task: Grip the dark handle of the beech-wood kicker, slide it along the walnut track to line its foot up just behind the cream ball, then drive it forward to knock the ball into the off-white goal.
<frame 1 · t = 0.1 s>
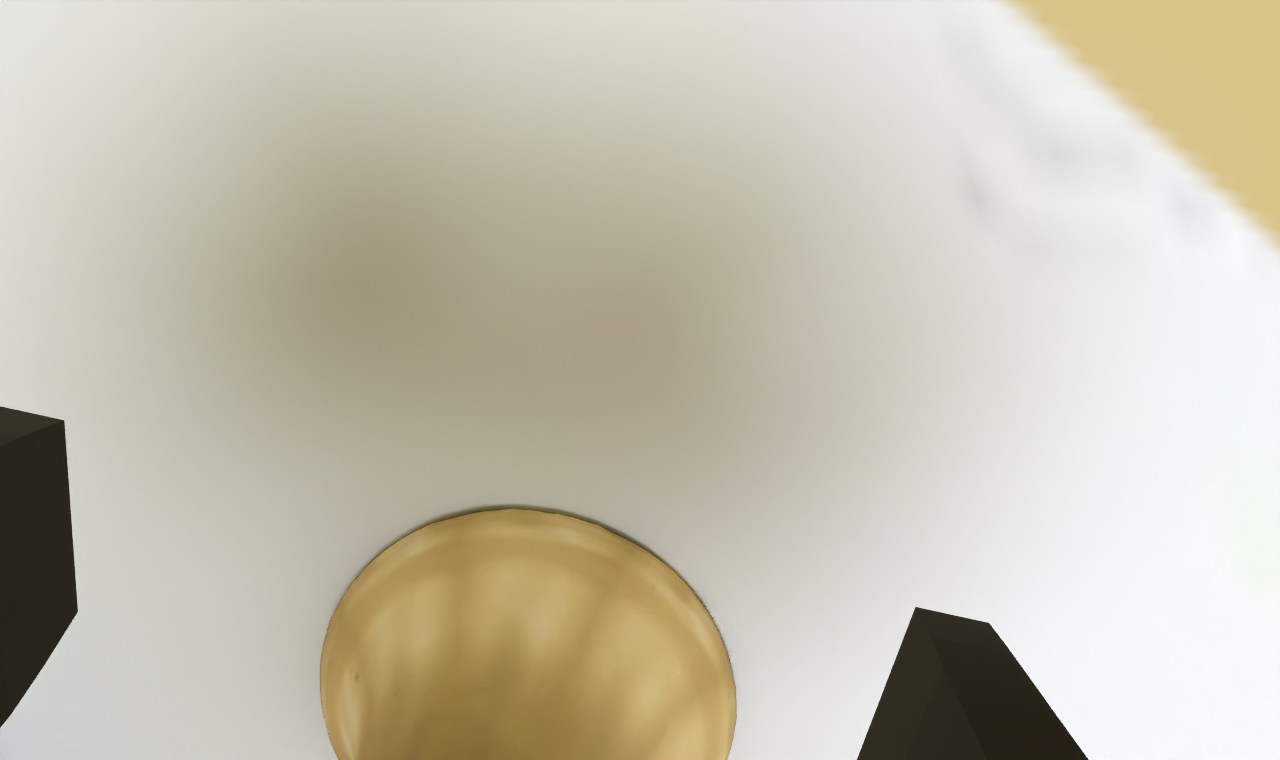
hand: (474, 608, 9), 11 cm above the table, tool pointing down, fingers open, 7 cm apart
hand bell: (529, 691, 22), on the table
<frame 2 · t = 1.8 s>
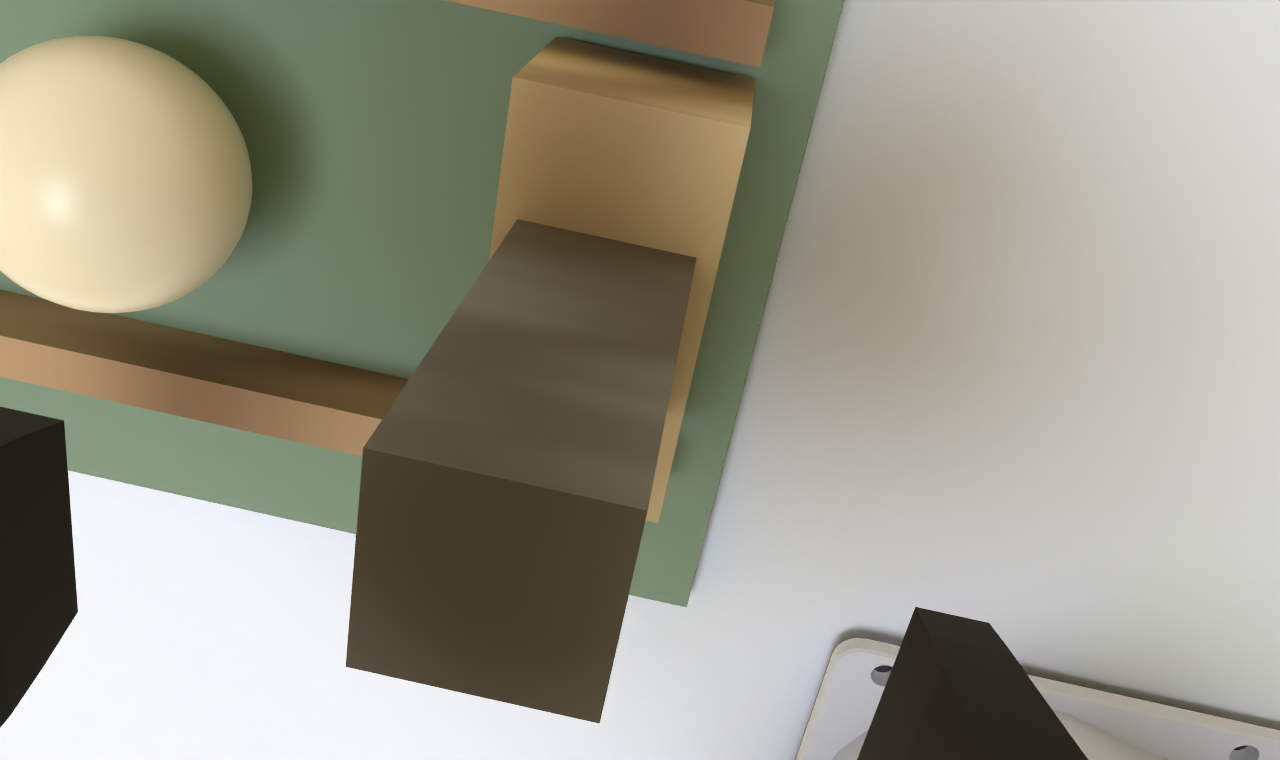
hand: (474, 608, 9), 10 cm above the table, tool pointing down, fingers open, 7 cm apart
kicker: (573, 368, 14), point 5 cm above the table, slide at 0.0 cm
pitch mat: (74, 110, 18), on the table
track: (276, 154, 18), resting on pitch mat
ball: (108, 177, 16), point 2 cm above the table, touching pitch mat
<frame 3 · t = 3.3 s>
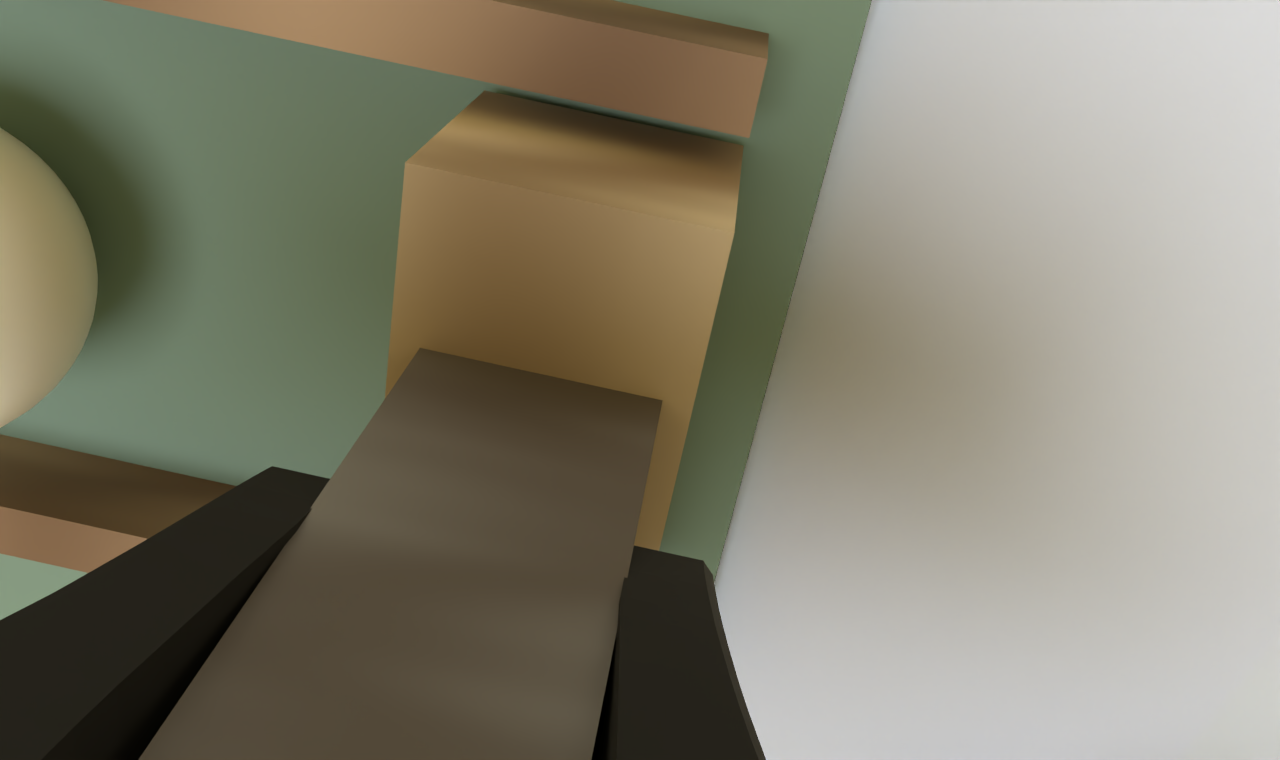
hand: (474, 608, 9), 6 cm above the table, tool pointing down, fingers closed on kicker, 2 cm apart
kicker: (490, 565, 10), point 5 cm above the table, slide at 0.0 cm, touching gripper
track: (142, 230, 15), resting on pitch mat
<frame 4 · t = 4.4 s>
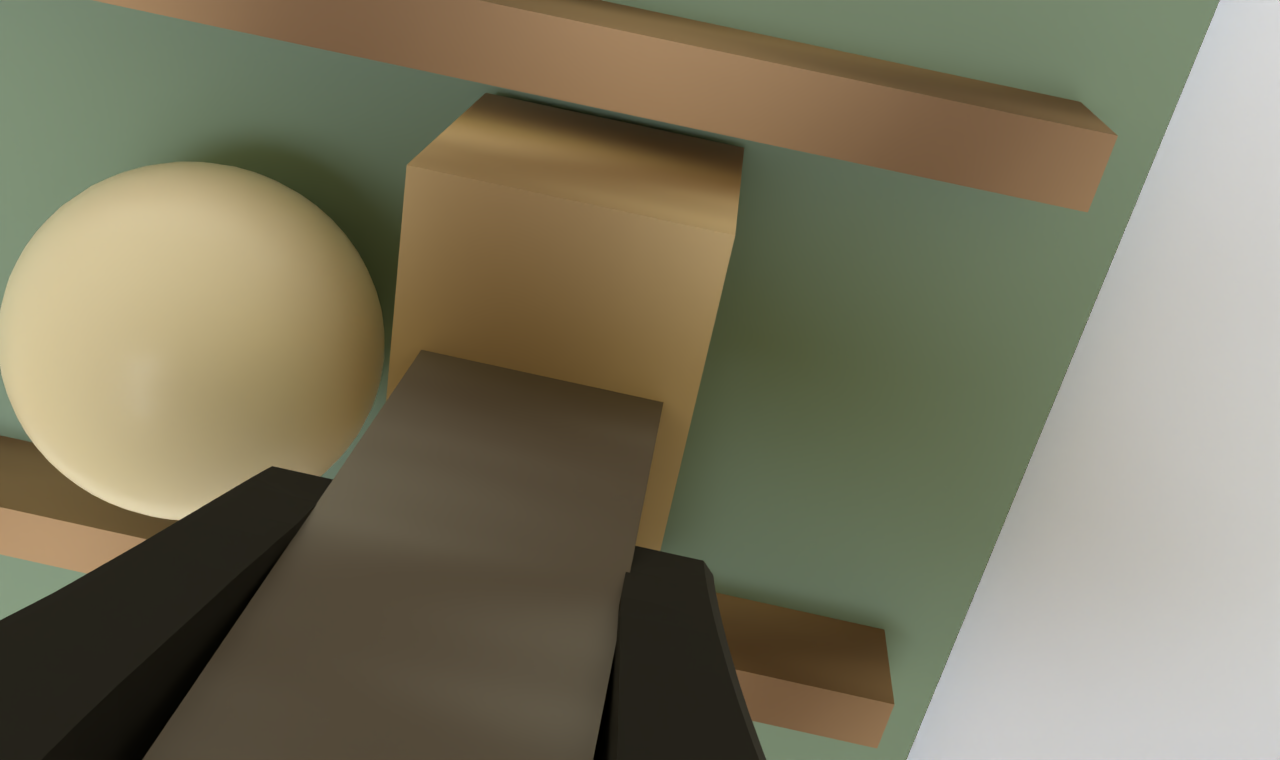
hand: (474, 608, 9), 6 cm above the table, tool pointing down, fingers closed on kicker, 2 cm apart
kicker: (491, 566, 10), point 5 cm above the table, slide at 3.5 cm, touching gripper
pitch mat: (144, 232, 15), on the table
track: (399, 287, 15), resting on pitch mat
ball: (202, 342, 12), point 2 cm above the table, touching pitch mat
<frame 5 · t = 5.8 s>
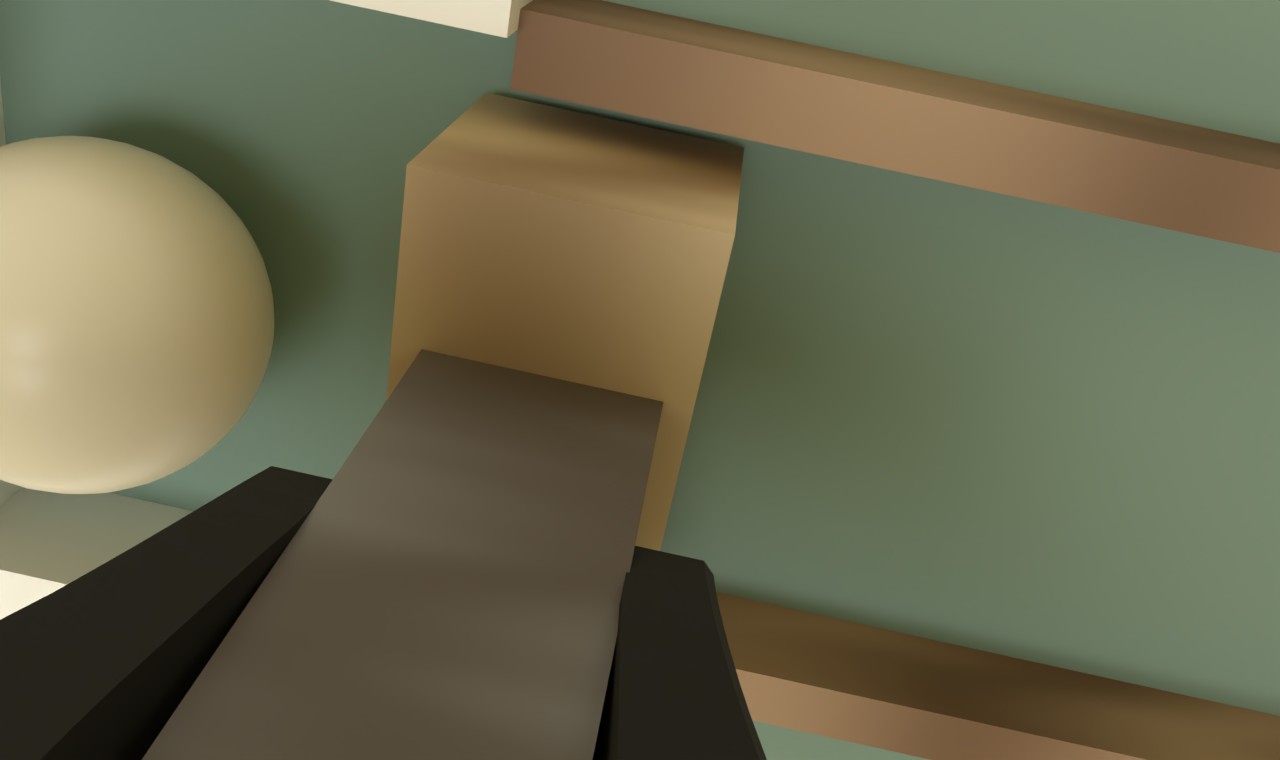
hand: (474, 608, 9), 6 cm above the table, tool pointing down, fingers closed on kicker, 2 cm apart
kicker: (491, 566, 10), point 5 cm above the table, slide at 12.5 cm, touching gripper
pitch mat: (805, 375, 15), on the table
track: (1066, 431, 14), resting on pitch mat
goal: (253, 255, 15), resting on pitch mat
ball: (88, 316, 12), point 2 cm above the table, tilted 65°, touching pitch mat
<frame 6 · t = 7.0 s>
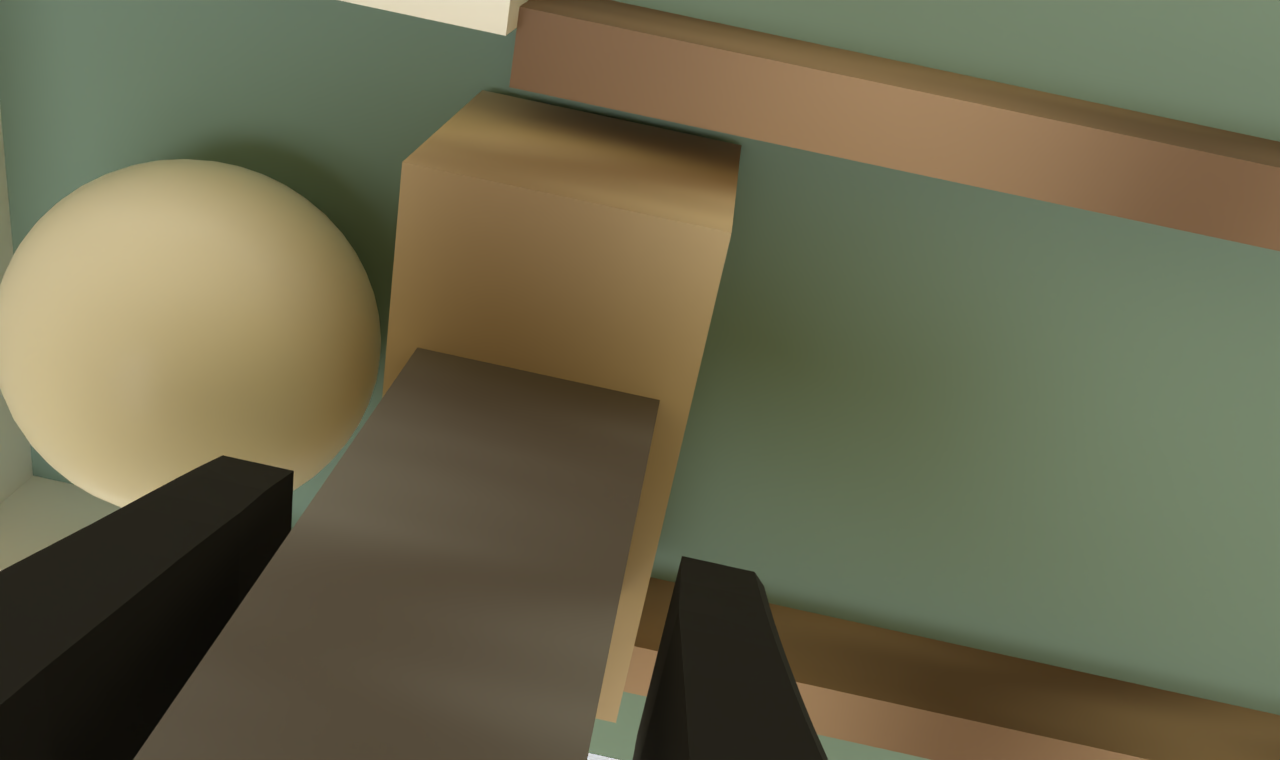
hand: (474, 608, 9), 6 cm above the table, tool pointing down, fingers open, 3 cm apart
kicker: (487, 564, 10), point 5 cm above the table, slide at 12.5 cm
pitch mat: (805, 374, 14), on the table
track: (1066, 430, 14), resting on pitch mat
goal: (252, 254, 15), resting on pitch mat
ball: (198, 340, 12), point 2 cm above the table, tilted 102°, touching pitch mat
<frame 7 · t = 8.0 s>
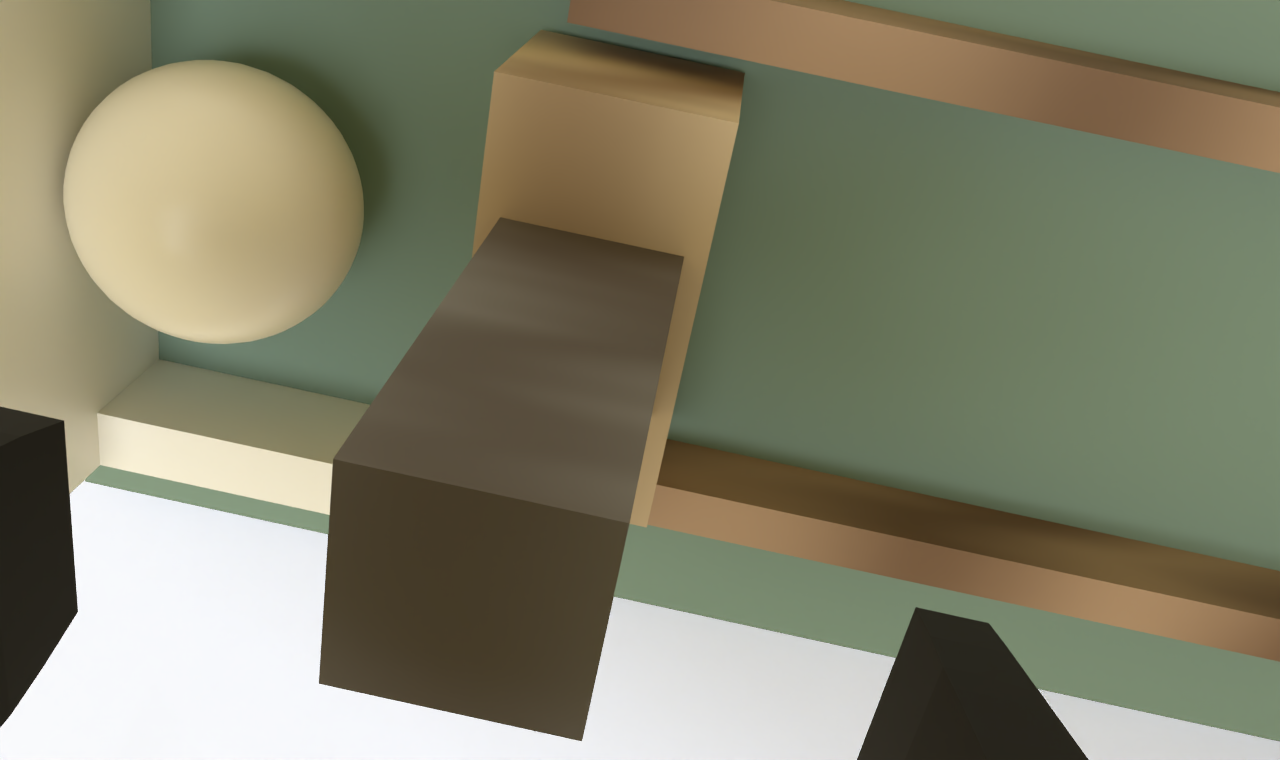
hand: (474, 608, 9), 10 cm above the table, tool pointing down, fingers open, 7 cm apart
kicker: (557, 371, 13), point 5 cm above the table, slide at 12.5 cm
pitch mat: (796, 266, 18), on the table
track: (1007, 311, 18), resting on pitch mat
goal: (347, 170, 18), resting on pitch mat
ball: (220, 204, 16), point 2 cm above the table, tilted 61°, touching pitch mat
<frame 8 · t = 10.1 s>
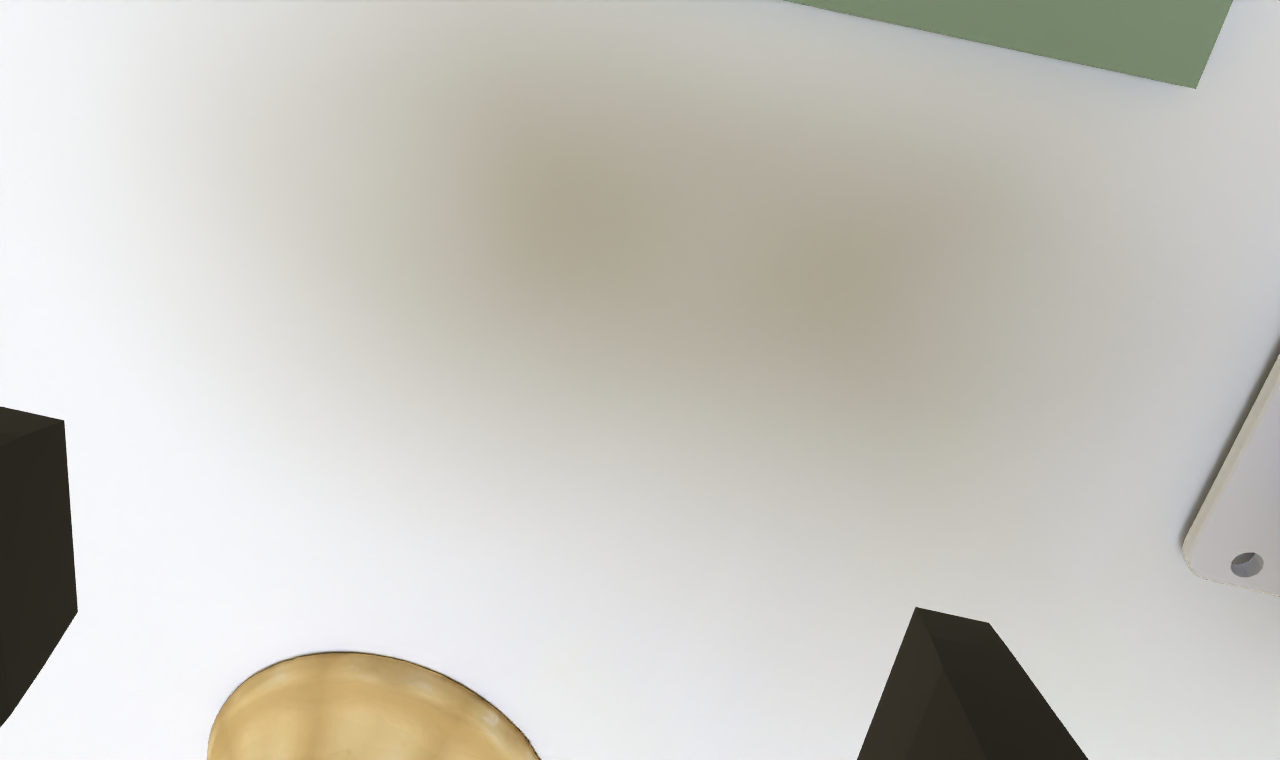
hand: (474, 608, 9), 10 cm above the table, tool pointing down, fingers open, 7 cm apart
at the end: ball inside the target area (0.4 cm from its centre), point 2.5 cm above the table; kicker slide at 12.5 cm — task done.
